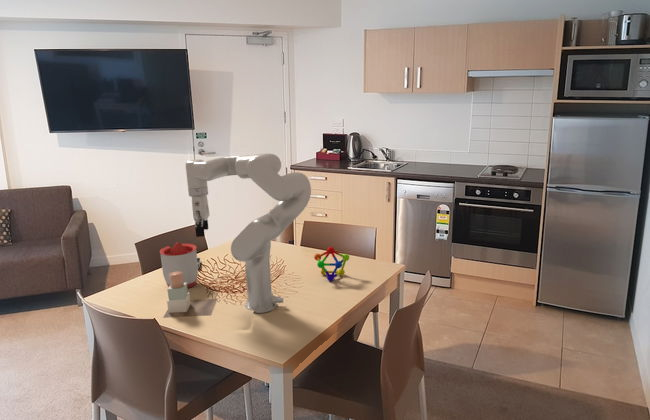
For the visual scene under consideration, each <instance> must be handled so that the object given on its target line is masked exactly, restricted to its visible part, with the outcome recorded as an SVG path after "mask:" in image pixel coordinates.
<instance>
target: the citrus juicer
mask: <svg viewBox="0 0 650 420" xmlns="http://www.w3.org/2000/svg"><path fill="white" fill-rule="evenodd" d="M197 252H198V251H197V245H195V244H193V243H180V242H176V243H174V245H173V246H172V247H170V245H167V246H165V247H163V248H160V250H159V254H160V259H161V260H160V261H161V271H162V275H163V278H164V281H165V283H166V285H167V287H168V288H169V286H170V277H169V274H170V273H172V272H177V271H180V272H183V280H184V283H187V289H190V288H193V287H194V286H195V285H196V283H197V280H198V275H199V274H198V273H199V268H198V262H197V258H198V254H197Z"/></svg>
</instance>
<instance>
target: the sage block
mask: <svg viewBox="0 0 650 420" xmlns="http://www.w3.org/2000/svg"><path fill="white" fill-rule="evenodd" d="M188 293H189V291H188V288H187V283H184V286H183V287H181V288H171V285H170V286H169V287H168V288H167V296H168V298H169V300H183V299H185V298H186V296H187V294H188ZM168 298H167V299H168Z"/></svg>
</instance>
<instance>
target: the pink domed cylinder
mask: <svg viewBox="0 0 650 420" xmlns="http://www.w3.org/2000/svg"><path fill="white" fill-rule="evenodd" d="M169 277H170V285H171V288H181V287H183V286H184V280H183V272H180V271H177V272H172V273H170V274H169Z"/></svg>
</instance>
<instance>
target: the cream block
mask: <svg viewBox="0 0 650 420" xmlns="http://www.w3.org/2000/svg"><path fill="white" fill-rule="evenodd" d="M190 300H191V296H190V292H188V294H187V296H186V298H185V299H183V300H169V298H167V300H166V304H167V310H168V313H173V312H187V310H188V308H189V306H190Z"/></svg>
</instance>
